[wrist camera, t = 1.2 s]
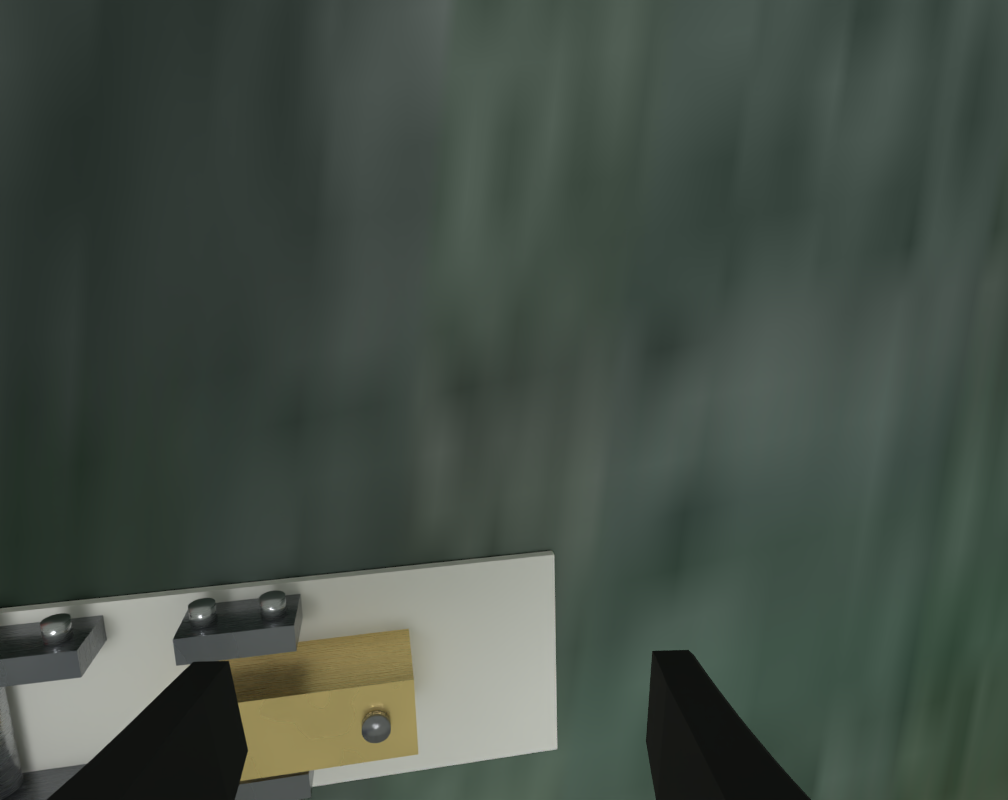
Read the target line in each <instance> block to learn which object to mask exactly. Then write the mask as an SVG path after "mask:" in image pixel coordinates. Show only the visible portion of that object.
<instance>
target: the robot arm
mask: <svg viewBox="0 0 1008 800" xmlns="http://www.w3.org/2000/svg"><path fill="white" fill-rule="evenodd" d="M646 744H647V750H648V756H649V762H650V768H651V774H652V779H653V785H654V790H655V796H656V800H811V799H810V798H809V797H808V796H807V795H806V794H805V793H804V792H803V790H802V789H801V788H800V787H799V786H798V785H797V784H796V783H795V782H794V781H793V780H792V779H791V777H790V776H789V775H788V774H787V773H786V772H785V771H784V769H783V768H782V767H781V766H780V765H779V764H778V763H777V762H776V760H775V759H774V758H773V757H772V756H771V754H770V753H769V752H768V751H767V750H766V748H765V747H764V746H763V745H762V744H761V742H760V741H759V740H758V739H757V738H756V736H755V735H754V734H753V733H752V732H751V730H750V729H749V728H748V727H747V726H746V724H745V723H744V722H743V721H742V719H741V718H740V717H739V716H738V714H737V713H736V712H735V710H734V709H733V708H732V707H731V705H730V704H729V703H728V701H727V700H726V699H725V697H724V696H723V695H722V693H721V692H720V691H719V689H718V688H717V687H716V685H715V684H714V683H713V681H712V680H711V679H710V677H709V676H708V674H707V673H706V672H705V670H704V669H703V667H702V666H701V665H700V663H699V662H698V660H697V659H696V657H695V656H694V655H693V654H692V653H691V652H690V651H689V650H673V651H652V664H651V678H650V692H649V707H648V721H647V735H646ZM247 753H248V747H247V743H246V738H245V733H244V729H243V724H242V720H241V715H240V710H239V706H238V701H237V696H236V692H235V687H234V682H233V678H232V673H231V668H230V664H229V661H200V662H192V663H191V664H190V665H189V666H188V667H187V668H186V669H185V670H184V671H183V672H182V673H181V674H180V675H179V676H178V677H177V678H176V679H175V680H174V681H173V682H172V683H171V684H169V685H168V686H167V687H166V688H165V689H164V690H163V691H162V692H161V693H160V694H159V695H158V696H157V697H156V698H155V699H154V700H153V701H152V702H151V703H150V704H149V705H148V706H147V707H146V708H145V709H144V710H143V711H142V712H141V713H140V714H139V715H138V716H137V717H136V718H135V719H134V720H133V721H132V722H130V723H129V724H128V725H127V726H126V727H125V728H124V729H123V730H122V731H121V732H120V733H119V734H118V735H117V736H116V737H115V738H114V739H113V740H112V741H111V742H110V743H108V744H107V745H106V746H105V747H104V748H103V749H102V750H101V751H100V752H99V753H98V754H97V755H96V756H95V757H94V758H93V759H92V760H90V761H89V762H88V763H87V764H86V765H85V766H84V767H83V768H82V769H81V770H79V771H78V772H77V773H76V774H75V775H74V776H73V777H72V778H70V779H69V780H68V781H67V782H66V783H65V784H64V785H62V786H61V787H60V788H59V789H58V790H57V791H56V792H55V793H53V794H52V795H51V796H50V797H49V798H48V799H47V800H235V797H236V794H237V790H238V787H239V783H240V779H241V776H242V772H243V768H244V764H245V760H246V757H247Z"/></svg>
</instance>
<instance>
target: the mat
mask: <svg viewBox="0 0 1008 800" xmlns="http://www.w3.org/2000/svg"><path fill="white" fill-rule="evenodd" d="M274 590H279V591H283V592H284V593H285V595H293V594H301V603H302V614H303V619H302V625H301V630H300V636H299V641H298V642H302V641H310V640H318V639H327V638H335V637H343V636H352V635H360V634H368V633H377V632H385V631H394V630H402V629H409V636H410V646H411V656H412V666H413V676H414V690H415V706H416V722H417V738H418V755H411V756H404V757H398V758H391V759H384V760H378V761H371V762H364V763H358V764H351V765H344V766H338V767H331V768H324V769H318V770H314V776H313V785H312V787H314V786H320V785H327V784H333V783H340V782H346V781H353V780H359V779H366V778H372V777H379V776H385V775H392V774H398V773H405V772H411V771H418V770H425V769H431V768H438V767H444V766H451V765H457V764H464V763H470V762H477V761H483V760H490V759H496V758H503V757H509V756H516V755H522V754H529V753H535V752H542V751H548V750H555V749H557V701H556V635H555V569H554V553H553V552H552V551H544V552H534V553H525V554H515V555H506V556H496V557H486V558H477V559H467V560H458V561H448V562H439V563H429V564H420V565H410V566H400V567H391V568H381V569H372V570H362V571H353V572H343V573H334V574H324V575H314V576H305V577H295V578H286V579H276V580H267V581H257V582H248V583H238V584H228V585H219V586H209V587H200V588H190V589H181V590H171V591H161V592H152V593H142V594H133V595H123V596H114V597H104V598H95V599H85V600H75V601H66V602H56V603H47V604H37V605H28V606H18V607H9V608H0V626H7V625H16V624H26V623H35V622H41V621H42V620H43V619H45V618H46V617H49V616H51V615H55V614H60V613H67V614H70V616H71V619H72V618H81V617H90V616H99V615H103V618H104V624H105V631H106V637H107V641H106V642H105V644H104V645H103V647H102V648H101V649H100V651H99V652H98V654H97V655H96V657H95V658H94V660H93V661H92V663H91V664H90V666H89V667H88V669H87V670H86V672H85V673H84V674H83V676H82V677H81V678H73V679H65V680H56V681H48V682H40V683H32V684H23V685H15V686H7V687H5V688H6V693H7V699H8V704H9V709H10V714H11V719H12V724H13V729H14V734H15V739H16V744H17V749H18V755H19V760H20V765H21V770H22V773H25V772H32V771H39V770H46V769H53V768H60V767H67V766H74V765H81V764H87V763H88V762H89V761H90V760H92V759H93V758H94V757H95V756H96V755H97V754H98V753H99V752H100V751H101V750H102V749H103V748H104V747H105V746H106V745H107V744H108V743H110V742H111V741H112V740H113V739H114V738H115V737H116V736H117V735H118V734H119V733H120V732H121V731H122V730H123V729H124V728H125V727H126V726H127V725H128V724H129V723H130V722H132V721H133V720H134V719H135V718H136V717H137V716H138V715H139V714H140V713H141V712H142V711H143V710H144V709H145V708H146V707H147V706H148V705H149V704H150V703H151V702H152V701H153V700H154V699H155V698H156V697H157V696H158V695H159V694H160V693H161V692H162V691H163V690H164V689H165V688H166V687H167V686H168V685H169V684H171V683H172V682H173V681H174V680H175V679H176V678H177V677H178V676H179V675H180V674H181V673H182V672H183V671H184V670H185V669H186V668H187V667H188V666H189V665H190V664H188V665H179V666H176V661H175V653H174V646H173V638H174V636H175V634H176V632H177V630H178V628H179V626H180V624H181V622H182V620H183V618H184V616H185V614H186V612H187V610H188V605H189V604H190V603H191V602H193V601H195V600H197V599H201V598H213V599H214V600H215V602H216V603H219V602H228V601H238V600H247V599H256V598H259V597H260V596H261V595H262V594H264V593H266V592H269V591H274Z"/></svg>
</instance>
